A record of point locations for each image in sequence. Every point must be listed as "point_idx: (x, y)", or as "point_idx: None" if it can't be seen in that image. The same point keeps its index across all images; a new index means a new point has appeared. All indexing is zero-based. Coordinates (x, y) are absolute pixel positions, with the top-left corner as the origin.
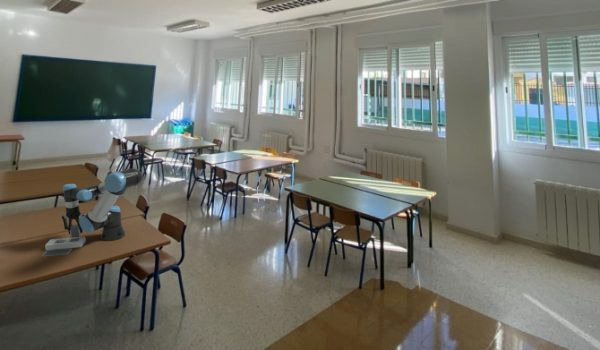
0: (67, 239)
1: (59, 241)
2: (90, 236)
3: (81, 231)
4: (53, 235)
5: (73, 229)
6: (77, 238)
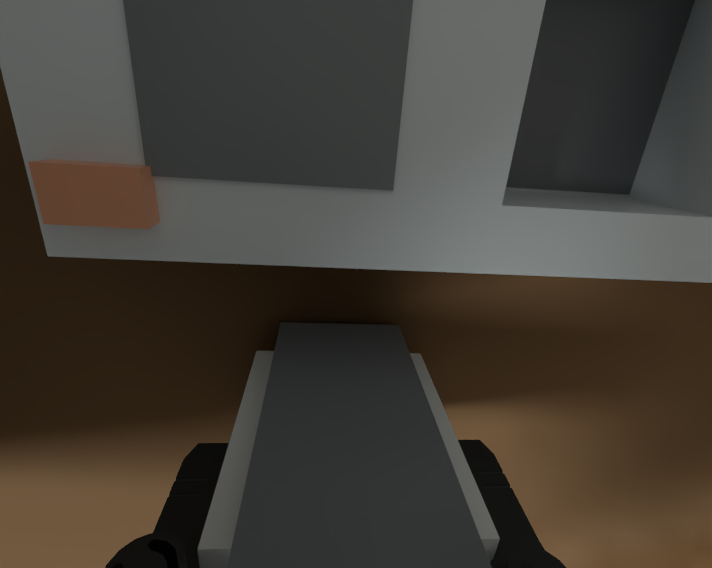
0: (486, 168)
1: (633, 206)
2: (139, 420)
3: (189, 485)
4: (645, 534)
5: (390, 556)
6: (217, 145)
